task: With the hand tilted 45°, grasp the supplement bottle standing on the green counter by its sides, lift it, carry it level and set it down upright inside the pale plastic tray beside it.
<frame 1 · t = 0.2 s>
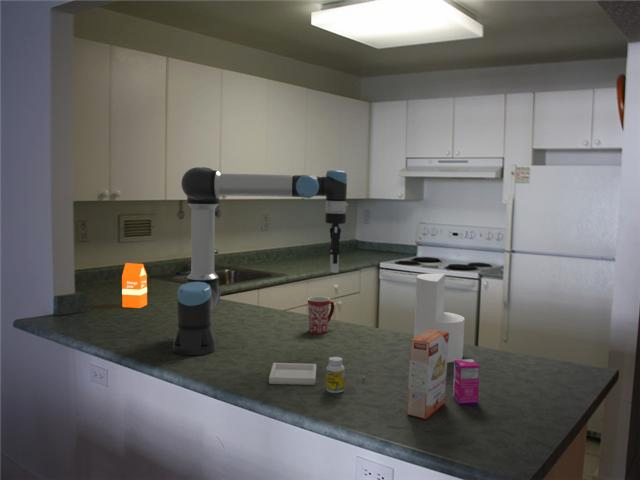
hand: (334, 269, 225), 28 cm above the worktop, tool pointing down, fingers open, 13 cm apart
cracker box: (426, 410, 166), on the worktop
mug: (321, 331, 246), on the worktop
orange juice: (134, 306, 284), on the worktop
tray: (293, 376, 190), on the worktop
supplement box: (465, 401, 173), on the worktop
supplement bottle: (335, 390, 179), on the worktop
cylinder: (437, 355, 216), on the worktop
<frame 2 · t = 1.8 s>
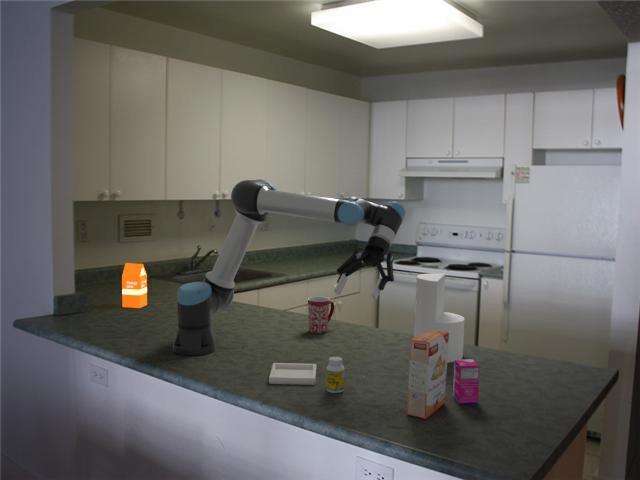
hand: (355, 295, 188), 26 cm above the worktop, tool tilted 45°, fingers open, 13 cm apart
nothing on the worktop moved.
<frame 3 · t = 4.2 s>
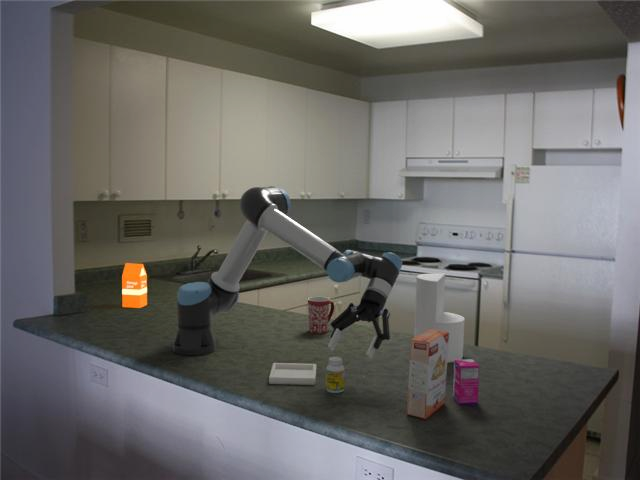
hand: (349, 352, 182), 10 cm above the worktop, tool tilted 45°, fingers open, 13 cm apart
nothing on the worktop moved.
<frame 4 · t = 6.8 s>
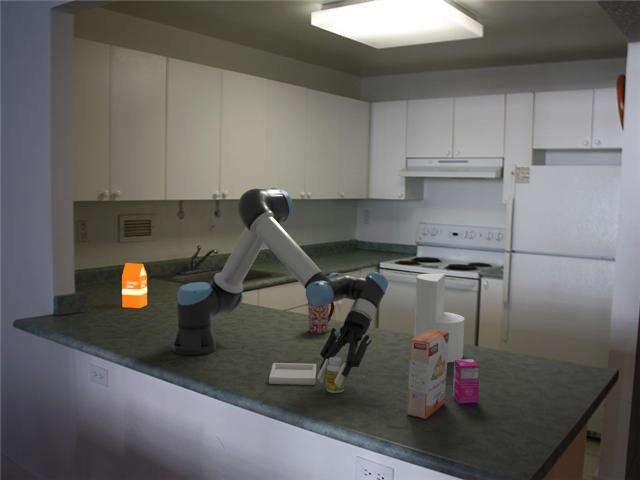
hand: (328, 382, 176), 3 cm above the worktop, tool tilted 45°, fingers closed on supplement bottle, 5 cm apart
supplement bottle: (335, 390, 179), on the worktop, touching gripper
everything else where it was.
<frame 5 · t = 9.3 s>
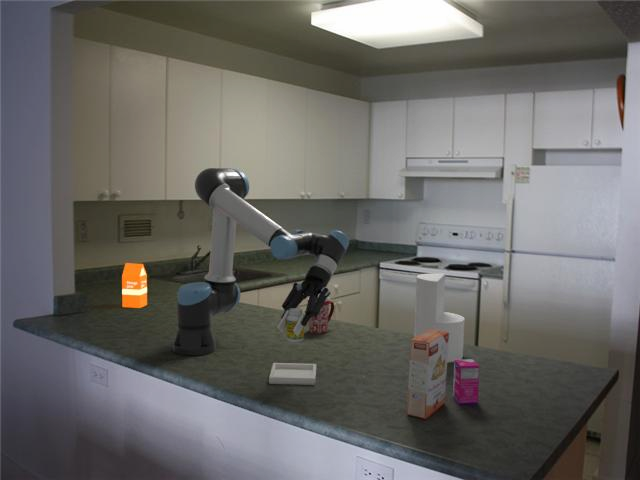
hand: (287, 331, 185), 15 cm above the worktop, tool tilted 45°, fingers closed on supplement bottle, 5 cm apart
supplement bottle: (295, 340, 189), point 12 cm above the worktop, touching gripper
everything else where it was.
when the fingers open (5 cm above the worktop, at t = 11.7 s): supplement bottle drops 1 cm, resting on tray.
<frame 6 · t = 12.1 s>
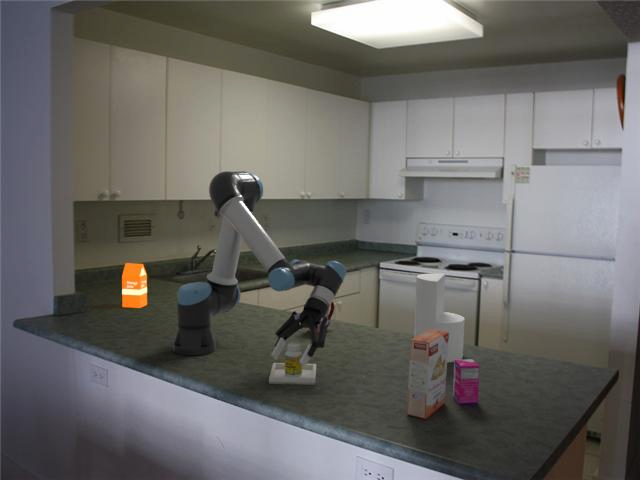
hand: (287, 360, 187), 6 cm above the worktop, tool tilted 45°, fingers open, 10 cm apart
supplement bottle: (293, 375, 190), resting on tray
everything else where it was.
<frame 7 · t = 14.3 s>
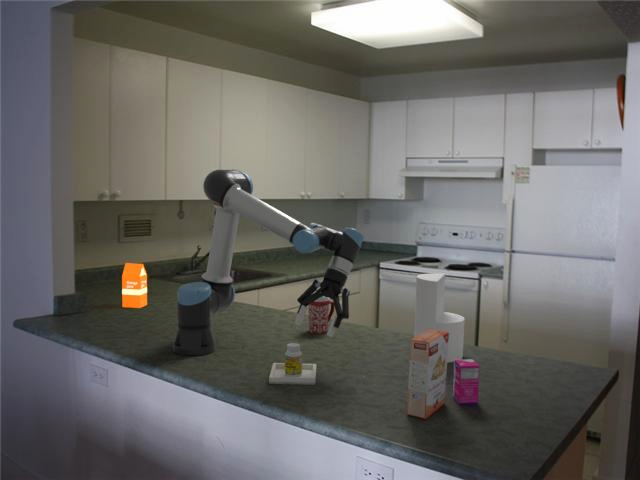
hand: (313, 330, 200), 12 cm above the worktop, tool tilted 30°, fingers open, 13 cm apart
nothing on the worktop moved.
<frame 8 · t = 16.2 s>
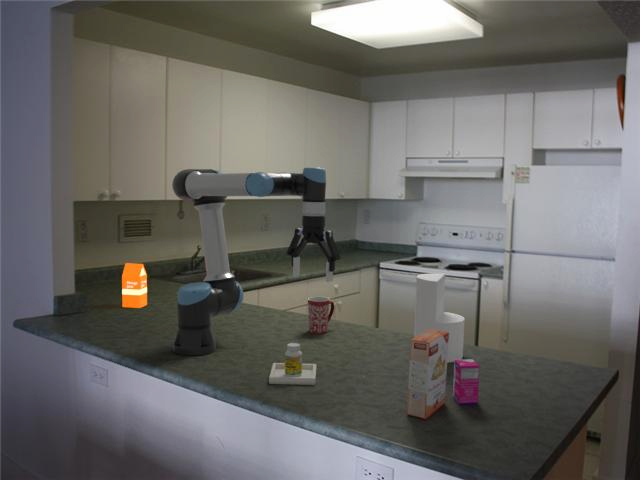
hand: (312, 278, 201), 29 cm above the worktop, tool pointing down, fingers open, 13 cm apart
nothing on the worktop moved.
at the end: supplement bottle inside the target area on the tray (0.2 cm from its centre), point 0.4 cm above the tray's base; supplement bottle tilted 0°; the gripper is holding nothing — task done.
